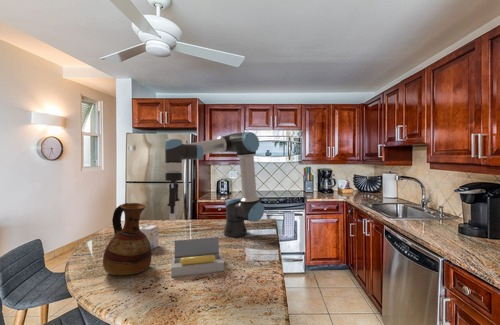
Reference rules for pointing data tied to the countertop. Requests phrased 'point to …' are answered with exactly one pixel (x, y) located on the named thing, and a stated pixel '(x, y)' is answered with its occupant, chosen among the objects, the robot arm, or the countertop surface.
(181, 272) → the open grey pill case
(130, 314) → the countertop surface
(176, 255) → the cover
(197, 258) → the yellow pill capsule
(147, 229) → the ink box
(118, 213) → the ceramic pitcher
